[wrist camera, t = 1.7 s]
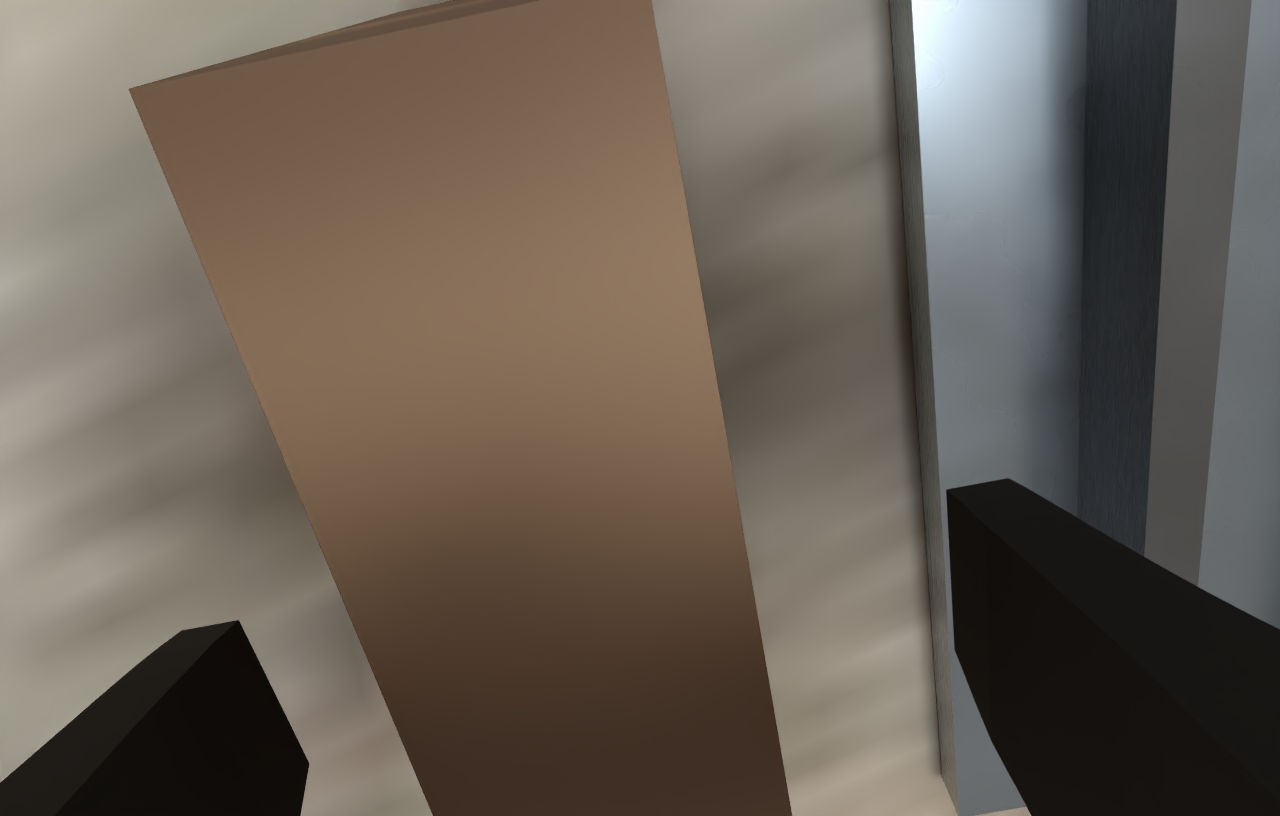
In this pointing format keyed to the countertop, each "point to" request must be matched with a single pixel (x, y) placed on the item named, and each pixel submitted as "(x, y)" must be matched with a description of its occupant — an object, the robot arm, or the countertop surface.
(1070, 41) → the track
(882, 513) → the countertop surface
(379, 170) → the door panel
